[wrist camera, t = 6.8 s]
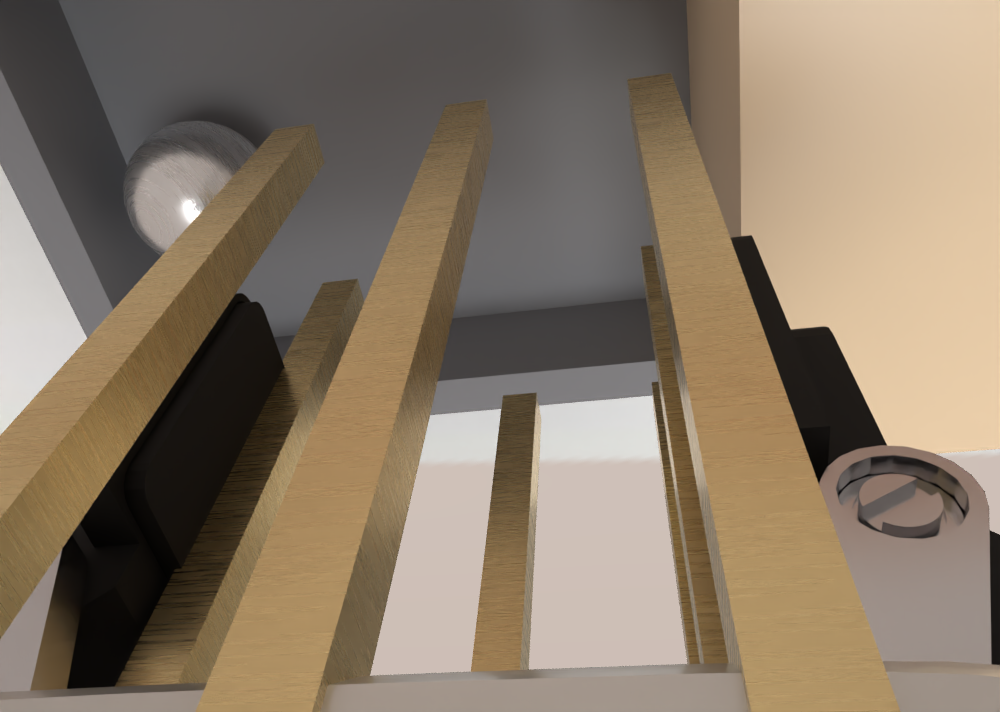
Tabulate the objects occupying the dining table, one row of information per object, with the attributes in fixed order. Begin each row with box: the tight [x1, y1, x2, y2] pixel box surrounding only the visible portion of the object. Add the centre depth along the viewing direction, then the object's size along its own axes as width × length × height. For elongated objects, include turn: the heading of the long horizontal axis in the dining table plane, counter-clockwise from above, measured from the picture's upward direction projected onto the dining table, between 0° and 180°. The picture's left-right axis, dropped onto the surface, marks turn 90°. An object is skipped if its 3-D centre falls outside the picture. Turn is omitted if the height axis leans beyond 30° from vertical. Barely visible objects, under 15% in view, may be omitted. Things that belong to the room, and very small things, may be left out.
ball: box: [123, 121, 257, 256], centre depth 20 cm, size 3×3×3 cm
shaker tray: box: [0, 0, 1000, 454], centre depth 18 cm, size 12×24×8 cm, turn 99°
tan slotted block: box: [0, 73, 900, 712], centre depth 9 cm, size 6×6×11 cm
